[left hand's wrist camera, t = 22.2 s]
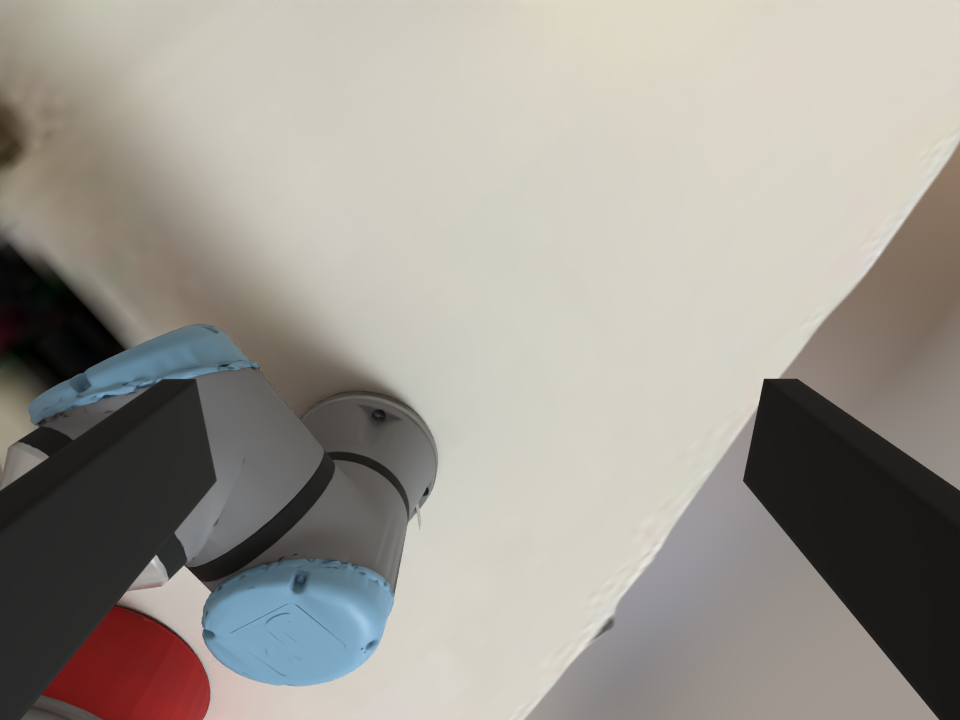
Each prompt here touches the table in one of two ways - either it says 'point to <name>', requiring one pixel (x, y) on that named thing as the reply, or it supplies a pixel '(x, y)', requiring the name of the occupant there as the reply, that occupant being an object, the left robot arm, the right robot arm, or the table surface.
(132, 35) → the table surface
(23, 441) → the left robot arm
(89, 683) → the bucket
